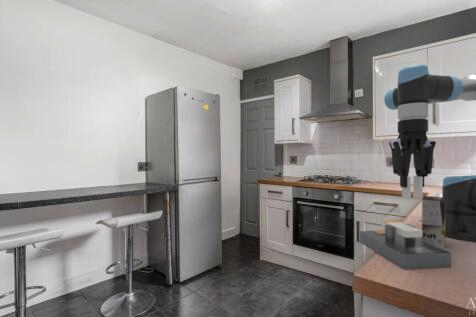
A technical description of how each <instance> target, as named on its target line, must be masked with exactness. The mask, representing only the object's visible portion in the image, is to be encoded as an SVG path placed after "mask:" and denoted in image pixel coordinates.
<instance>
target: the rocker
mask: <svg viewBox="0 0 476 317" xmlns="http://www.w3.org/2000/svg"><path fill="white" fill-rule="evenodd" d="M406 224H407V223H404V222H401V221H400V220H396V219H381V220H380V227H381V228H383V229H385V225H390V226H393V227H395V233H397V234H399V235H402V236H404V237H406V238H412V237H416V238H422V229H419V228H417V227H416V226H415V227H412V226H413V225H412V226H409V225H410V224H409V225H406Z"/></svg>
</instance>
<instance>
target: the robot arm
mask: <svg viewBox="0 0 476 317" xmlns="http://www.w3.org/2000/svg"><path fill="white" fill-rule="evenodd" d="M397 73H398V75H397V87H395V88H394V89H389V90H388V91H387V92H385V95H384V99H383V100H384V105H385V107H386V108H388V109H389V110H391V111H395V110H397V119H398V122H397V133H398V137H397V138H396V139H395V140H393V141H390V142H389V143H388V146H389V147H390V150H391V161H392V173H393V174H394V175H397V176H398V177H399V187H400V188H401V198H402V199H406V200H412V197H413V199H414V198H415V199H420V200H422V199H423V197H424V195H423V192H424V191H423V189H424V187H425V177H428V176H429V175H432V169H433V158H434V149H435V147H436V144H437V142H436V141H434V140H429V139H428V136H427V132H428V131H429V120H428V119H427V118H428V117H429V105H432V104H439V103H448V102H453V101H458V100H462V101H466V102H471V101H476V73H475V74H469V75H466V76H464V77H462V78H459V77H456V76H451V75H439V74H437V75H435V74H430V71H429V67H428V66H427V65H426V64H421V63H419V64H413V65H408V66H404V67H402V68H401V69H400V70H399V72H397ZM412 156H413V163H414V171H415V175H413V176H409V173H410V166H411V160H412ZM412 178H413V179H412ZM412 183H413V184H412ZM412 185H413V186H412ZM412 187H413V188H412ZM441 188H442V189H441V190H442V193H441V194H442V197H444V198H445V204H446V209H445V237H448V238H452V239H456V240H461V241H469V242H476V174H475V175H472V174H471V175H455V176H453V175H452V176H446V177H444V178H443V180H442V187H441Z"/></svg>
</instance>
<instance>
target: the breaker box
mask: <svg viewBox="0 0 476 317" xmlns="http://www.w3.org/2000/svg"><path fill="white" fill-rule="evenodd" d="M405 224H406V225H409V226H412V227H415V228H416V225H413V224H409V223H405ZM417 238H418V237H416V238H415V237H412V238H406V237H404V236H402V235H399V234H397V233H395V227H393V226H390V225H385V228H384V229H383V230H378V229H377V230H362V231H361V230H360V231H359V243H360V244H362V245H364V246H366V248H368V249H370V250H371V251H374V252H375V253H376V254H378V255H380V256H381V257H384V258H385V259H386V260H388V261H390V262H391V263H393V264H395V265H396V266H398V267H399V268H401V269H403V270H419V269H422V270H423V269H435V268H437V269H441V268H452V252H450V251H446V250H447V249H445V248H442V249H441V248H439V247H436V246H434V245H432V244H429V243H427V242H424V241H422V239H421V238H418V239H417ZM420 239H421V240H420ZM444 249H445V250H444ZM376 250H377V251H376Z"/></svg>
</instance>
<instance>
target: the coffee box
mask: <svg viewBox="0 0 476 317" xmlns="http://www.w3.org/2000/svg"><path fill="white" fill-rule="evenodd" d="M421 200H422V201H421V204H422V205H421V230H422V237H421V240H423V241H425V242H428V243H430V244H433V245H435V246H438V247H440V248H442V249H445V244H446V236H445V209H446V204H445V198H444V197H443V196H429V195H427V196H426V195H425V196H424V195H423V199H421Z"/></svg>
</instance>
